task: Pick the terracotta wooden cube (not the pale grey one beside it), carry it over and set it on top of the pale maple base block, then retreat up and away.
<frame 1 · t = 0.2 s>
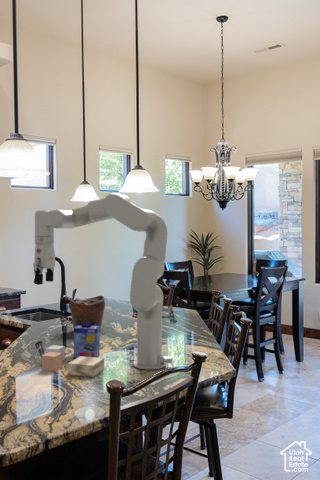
hand: (44, 282, 196), 31 cm above the kitchen island, fingers open, 9 cm apart
ink cartridge box: (86, 356, 199), on the kitchen island
brown tapered pot: (86, 331, 247), on the kitchen island
terracotta cube: (52, 368, 181), on the kitchen island
maple base block: (86, 371, 177), on the kitchen island
pale grey cube: (55, 361, 192), on the kitchen island
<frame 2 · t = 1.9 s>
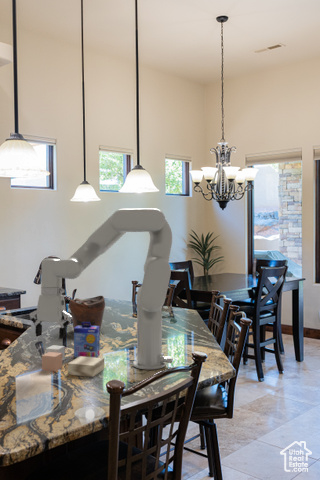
hand: (50, 336, 181), 12 cm above the kitchen island, fingers open, 9 cm apart
nothing on the kitchen island moved.
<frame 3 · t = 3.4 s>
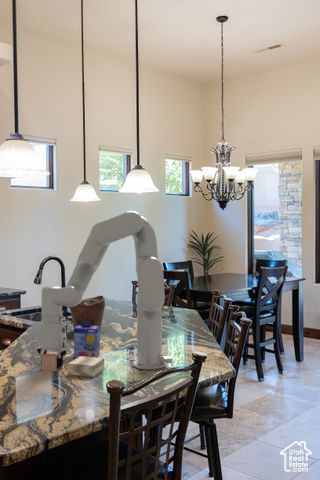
hand: (52, 366, 181), 1 cm above the kitchen island, fingers closed on terracotta cube, 5 cm apart
terracotta cube: (52, 368, 181), on the kitchen island, touching gripper
everything else where it was.
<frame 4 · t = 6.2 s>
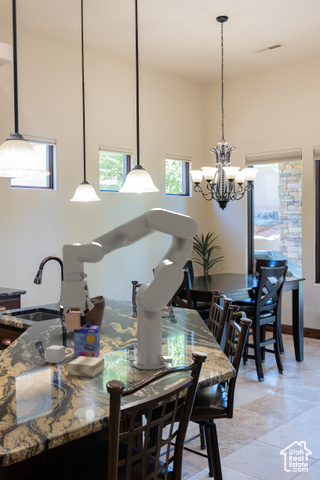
hand: (75, 325, 178), 17 cm above the kitchen island, fingers closed on terracotta cube, 5 cm apart
terracotta cube: (75, 327, 178), point 16 cm above the kitchen island, touching gripper
everything else where it was.
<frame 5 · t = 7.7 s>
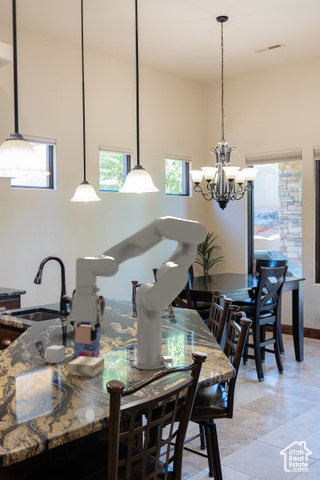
hand: (85, 339, 177), 12 cm above the kitchen island, fingers closed on terracotta cube, 5 cm apart
terracotta cube: (85, 341, 177), point 11 cm above the kitchen island, touching gripper
everything else where it was.
when the fingers open (6 cm above the kitchen island, at t = 9.1 s): terracotta cube drops 1 cm, resting on maple base block.
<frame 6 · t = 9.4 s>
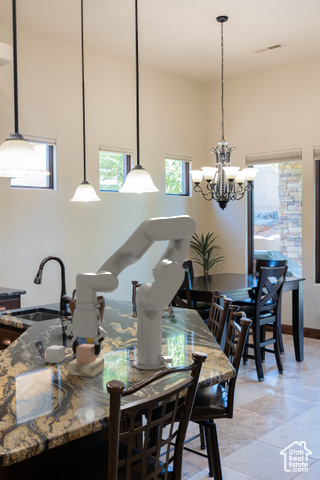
hand: (86, 353, 177), 7 cm above the kitchen island, fingers open, 8 cm apart
terracotta cube: (86, 360, 177), point 4 cm above the kitchen island, touching maple base block
everything else where it was.
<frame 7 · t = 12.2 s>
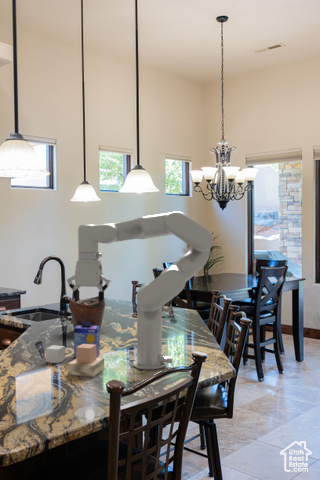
hand: (88, 301, 184), 25 cm above the kitchen island, fingers open, 9 cm apart
nothing on the kitchen island moved.
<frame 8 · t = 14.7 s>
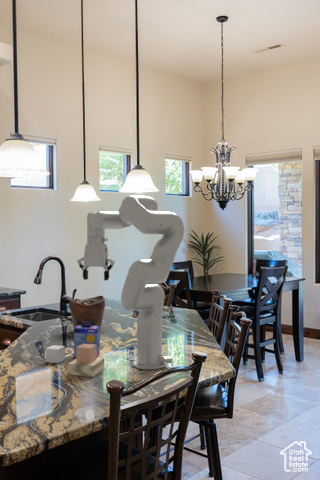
hand: (95, 279, 210), 30 cm above the kitchen island, fingers open, 9 cm apart
nothing on the kitchen island moved.
at the end: terracotta cube 0.0 cm off-centre on the maple base block, point 4.0 cm above the maple base block's base; terracotta cube tilted 0°; pale grey cube moved 0.1 cm from its start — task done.
